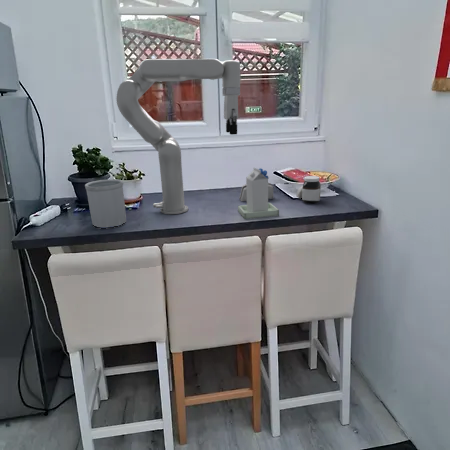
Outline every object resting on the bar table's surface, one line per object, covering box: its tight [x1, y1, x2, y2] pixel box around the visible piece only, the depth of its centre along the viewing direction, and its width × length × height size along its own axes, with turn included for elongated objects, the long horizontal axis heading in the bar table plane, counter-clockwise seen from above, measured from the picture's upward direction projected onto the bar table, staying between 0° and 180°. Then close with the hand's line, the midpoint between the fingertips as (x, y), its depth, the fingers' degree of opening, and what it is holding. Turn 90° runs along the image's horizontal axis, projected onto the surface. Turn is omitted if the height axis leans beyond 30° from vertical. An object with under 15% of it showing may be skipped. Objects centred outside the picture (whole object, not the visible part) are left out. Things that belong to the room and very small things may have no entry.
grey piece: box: [239, 182, 274, 202], centre depth 191 cm, size 17×5×10 cm, turn 102°
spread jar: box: [296, 175, 322, 205], centre depth 184 cm, size 12×11×12 cm
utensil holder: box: [84, 178, 127, 227], centre depth 162 cm, size 15×15×18 cm
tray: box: [237, 202, 280, 220], centre depth 170 cm, size 15×12×2 cm
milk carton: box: [245, 167, 269, 212], centre depth 167 cm, size 7×7×19 cm
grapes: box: [258, 167, 270, 180], centre depth 206 cm, size 12×7×12 cm, turn 108°
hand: (231, 133), depth 171 cm, fingers open, 9 cm apart
